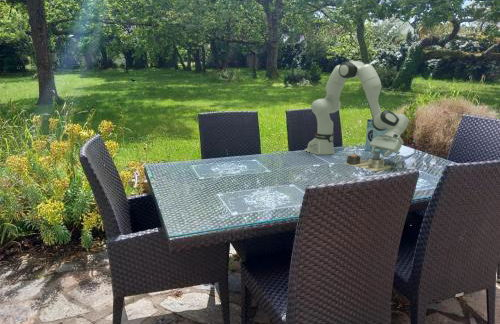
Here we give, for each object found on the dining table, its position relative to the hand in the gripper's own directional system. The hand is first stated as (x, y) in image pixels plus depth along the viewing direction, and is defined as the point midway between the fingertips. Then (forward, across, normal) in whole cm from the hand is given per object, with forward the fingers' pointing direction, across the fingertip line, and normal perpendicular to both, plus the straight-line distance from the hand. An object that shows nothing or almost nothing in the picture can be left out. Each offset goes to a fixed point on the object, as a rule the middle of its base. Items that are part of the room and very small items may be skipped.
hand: (378, 154), depth 255 cm
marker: (+6, 0, +4) cm, 8 cm away
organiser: (+7, -7, +5) cm, 11 cm away
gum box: (-19, -32, +32) cm, 49 cm away
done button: (+7, -14, -1) cm, 16 cm away
